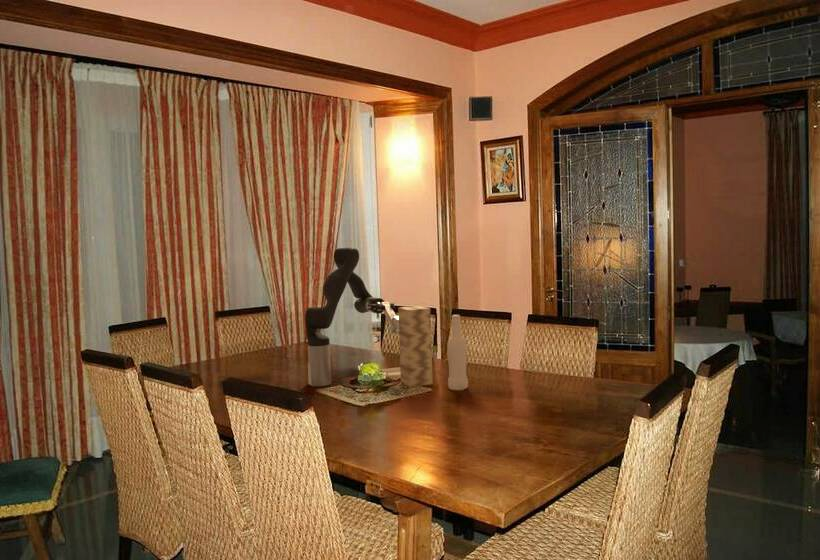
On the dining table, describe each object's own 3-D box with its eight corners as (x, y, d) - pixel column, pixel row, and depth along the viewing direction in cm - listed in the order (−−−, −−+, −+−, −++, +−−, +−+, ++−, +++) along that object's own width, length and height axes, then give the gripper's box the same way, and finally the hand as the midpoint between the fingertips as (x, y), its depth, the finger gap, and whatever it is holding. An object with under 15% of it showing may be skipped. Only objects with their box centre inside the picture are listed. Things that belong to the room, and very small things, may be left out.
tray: (387, 381, 278) (387, 375, 278) (376, 375, 291) (376, 369, 290) (417, 377, 283) (417, 372, 283) (405, 371, 296) (405, 366, 296)
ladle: (392, 334, 283) (394, 324, 281) (377, 307, 300) (379, 297, 297) (405, 333, 286) (407, 323, 283) (389, 306, 302) (391, 297, 299)
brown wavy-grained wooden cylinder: (410, 386, 267) (407, 310, 264) (400, 381, 277) (398, 307, 275) (432, 384, 270) (430, 308, 268) (422, 378, 281) (419, 305, 278)
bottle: (461, 391, 256) (458, 316, 254) (444, 389, 261) (442, 315, 259) (471, 387, 262) (469, 314, 260) (455, 385, 267) (453, 313, 265)
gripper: (361, 298, 308) (373, 300, 293) (388, 296, 314) (402, 298, 298) (362, 314, 309) (374, 316, 293) (389, 312, 314) (402, 314, 298)
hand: (388, 307), depth 296 cm, fingers closed on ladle, 3 cm apart
